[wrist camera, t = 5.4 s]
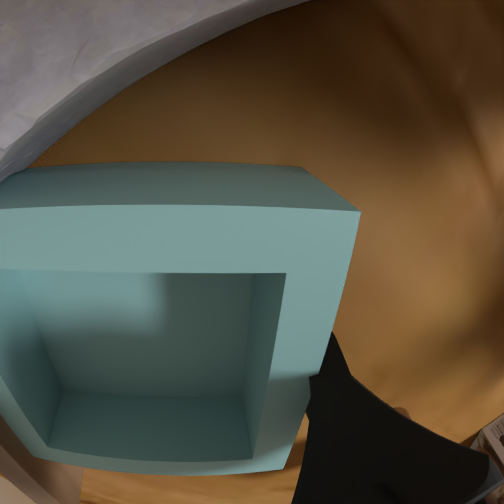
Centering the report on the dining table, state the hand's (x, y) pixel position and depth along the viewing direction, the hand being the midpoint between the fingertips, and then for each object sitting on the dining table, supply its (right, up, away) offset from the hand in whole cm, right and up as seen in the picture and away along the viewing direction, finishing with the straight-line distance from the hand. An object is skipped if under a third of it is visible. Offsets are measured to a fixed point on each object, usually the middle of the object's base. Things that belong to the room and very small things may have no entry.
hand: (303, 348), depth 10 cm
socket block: (-5, +1, 0) cm, 5 cm away
